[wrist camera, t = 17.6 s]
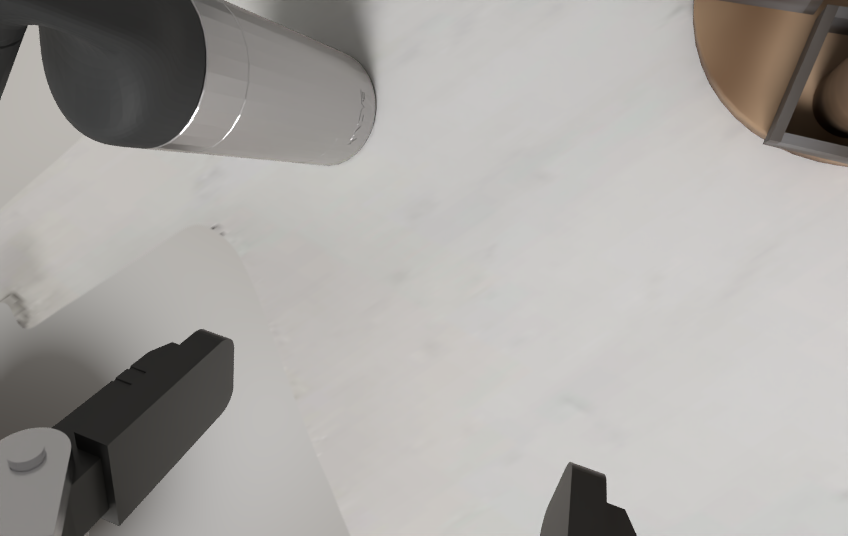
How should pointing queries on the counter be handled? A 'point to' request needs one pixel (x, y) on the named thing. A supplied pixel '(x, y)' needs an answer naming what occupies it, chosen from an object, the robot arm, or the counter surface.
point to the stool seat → (775, 67)
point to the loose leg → (833, 101)
